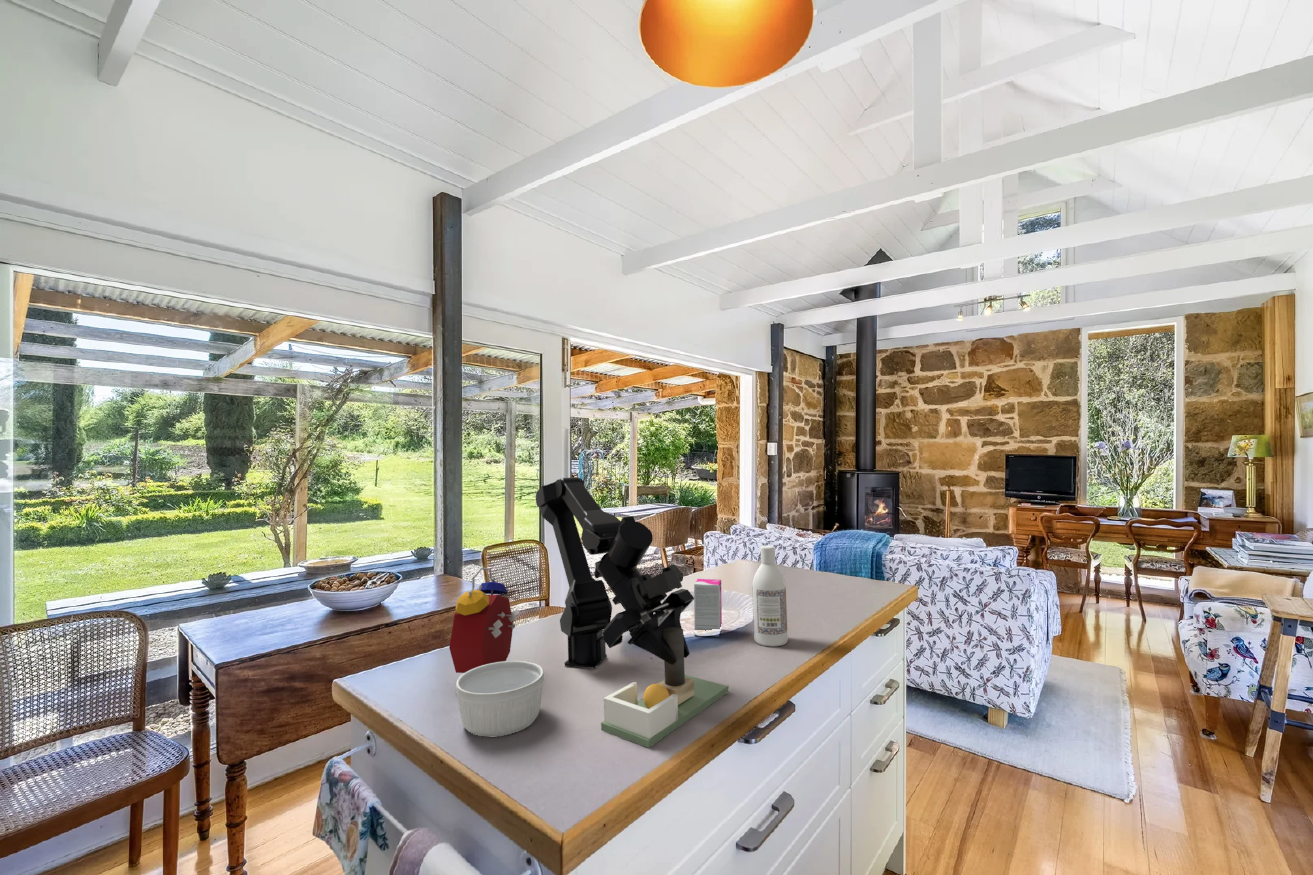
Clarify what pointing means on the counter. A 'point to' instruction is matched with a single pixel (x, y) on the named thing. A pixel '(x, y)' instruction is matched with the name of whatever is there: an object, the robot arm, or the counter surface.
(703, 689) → the board
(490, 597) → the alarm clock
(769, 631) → the bath foam
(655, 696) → the ball
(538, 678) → the ramekin
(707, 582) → the supplement box
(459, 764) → the counter surface
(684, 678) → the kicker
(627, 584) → the robot arm
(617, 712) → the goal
